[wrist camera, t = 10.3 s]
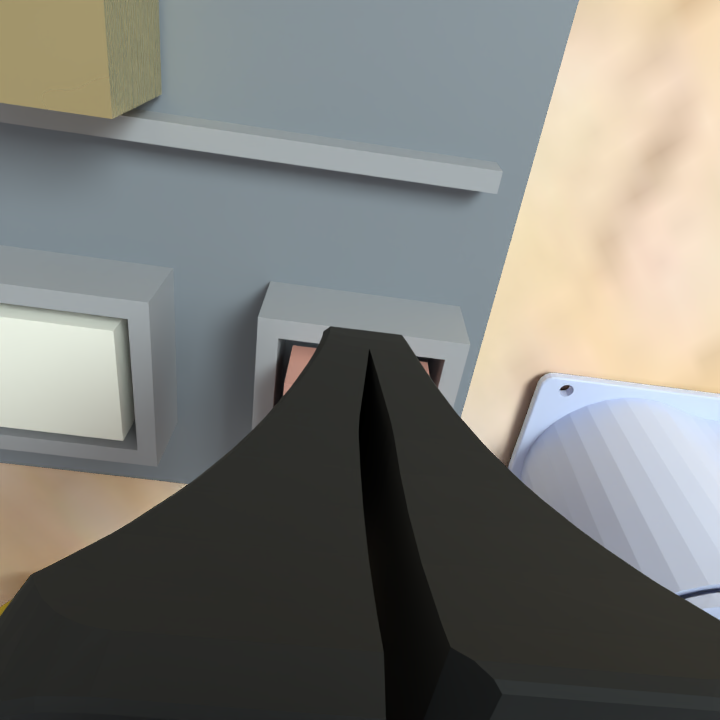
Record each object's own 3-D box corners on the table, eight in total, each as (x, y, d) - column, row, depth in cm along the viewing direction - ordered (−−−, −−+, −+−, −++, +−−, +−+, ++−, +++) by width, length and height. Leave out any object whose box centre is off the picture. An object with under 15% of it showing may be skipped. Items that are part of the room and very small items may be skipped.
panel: (601, -168, 14) (681, -222, 11) (429, 476, 25) (439, 560, 22) (-175, -308, 13) (-385, -422, 10) (-6, 425, 24) (-74, 504, 21)
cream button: (137, 299, 19) (113, 331, 17) (143, 403, 21) (123, 440, 19) (4, 282, 18) (-33, 312, 17) (24, 389, 20) (-7, 425, 19)
